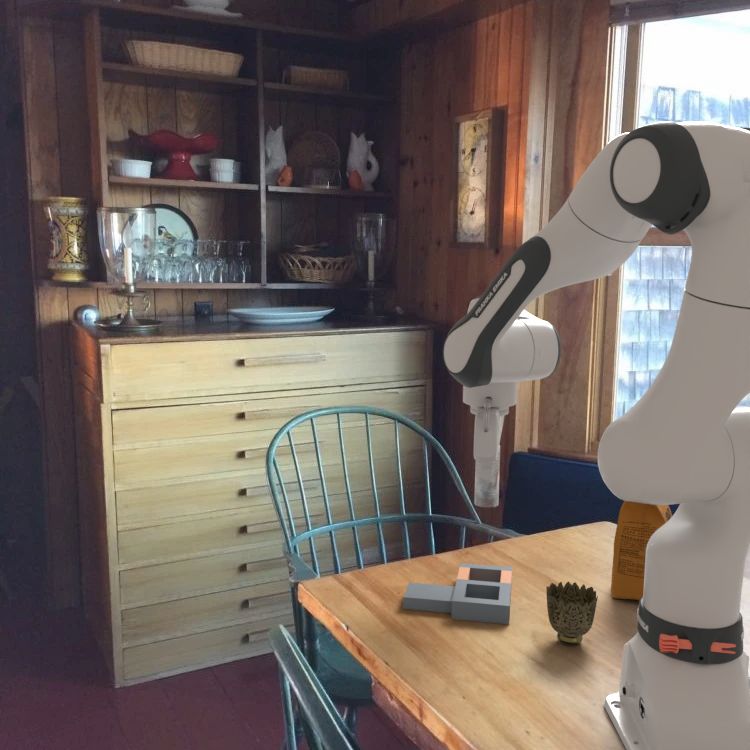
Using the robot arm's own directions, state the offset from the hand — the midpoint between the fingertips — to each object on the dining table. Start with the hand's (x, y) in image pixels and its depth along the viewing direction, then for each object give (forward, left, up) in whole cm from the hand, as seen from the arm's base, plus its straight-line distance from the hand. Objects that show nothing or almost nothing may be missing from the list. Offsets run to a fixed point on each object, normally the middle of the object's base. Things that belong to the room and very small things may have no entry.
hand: (487, 474), depth 133 cm
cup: (-16, -14, -21) cm, 29 cm away
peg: (0, 0, -5) cm, 5 cm away
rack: (-4, +4, -21) cm, 21 cm away
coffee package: (+5, -27, -21) cm, 34 cm away
